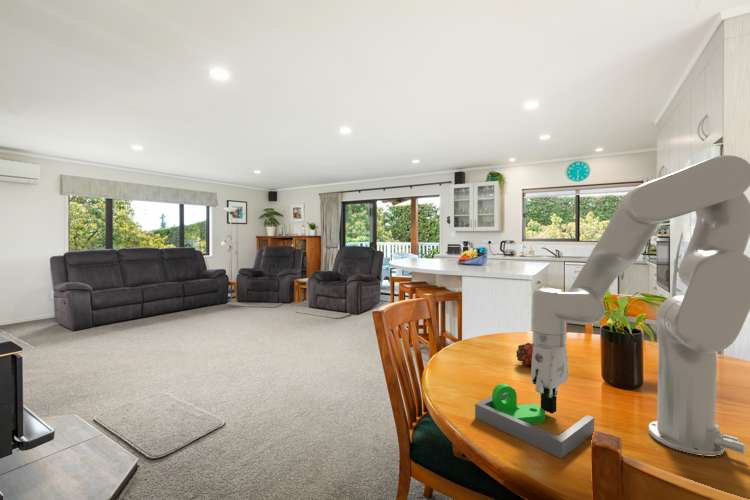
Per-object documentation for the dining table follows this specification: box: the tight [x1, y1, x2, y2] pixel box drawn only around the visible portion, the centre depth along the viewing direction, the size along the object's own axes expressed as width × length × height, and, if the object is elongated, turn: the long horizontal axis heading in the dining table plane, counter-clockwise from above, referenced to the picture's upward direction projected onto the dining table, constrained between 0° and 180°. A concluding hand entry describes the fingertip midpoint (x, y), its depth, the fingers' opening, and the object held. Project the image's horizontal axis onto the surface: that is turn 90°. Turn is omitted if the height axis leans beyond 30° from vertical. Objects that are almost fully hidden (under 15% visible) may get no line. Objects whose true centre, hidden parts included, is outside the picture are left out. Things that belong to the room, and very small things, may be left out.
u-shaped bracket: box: [474, 388, 595, 459], centre depth 85 cm, size 21×16×4 cm
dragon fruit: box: [516, 342, 534, 367], centre depth 124 cm, size 8×8×12 cm
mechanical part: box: [491, 382, 546, 425], centre depth 88 cm, size 12×6×8 cm, turn 99°
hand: (548, 410), depth 90 cm, fingers closed
